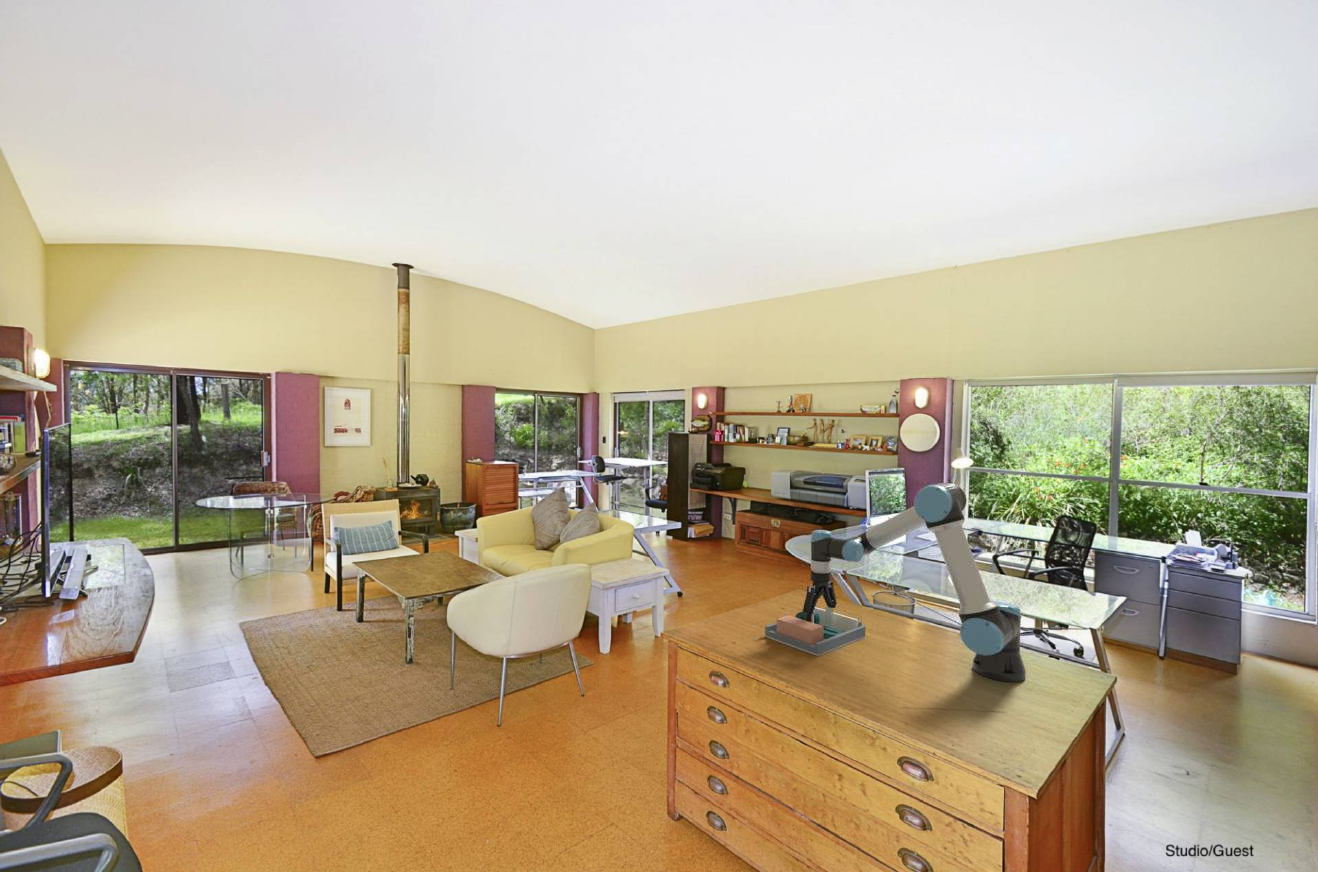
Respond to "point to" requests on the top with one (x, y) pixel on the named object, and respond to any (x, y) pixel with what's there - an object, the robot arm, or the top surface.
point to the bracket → (827, 630)
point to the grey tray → (820, 646)
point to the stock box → (800, 629)
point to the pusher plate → (837, 621)
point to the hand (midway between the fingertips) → (819, 627)
